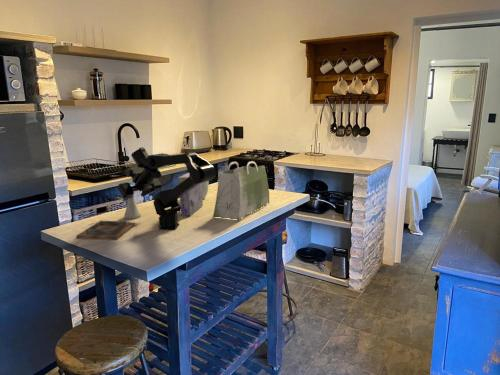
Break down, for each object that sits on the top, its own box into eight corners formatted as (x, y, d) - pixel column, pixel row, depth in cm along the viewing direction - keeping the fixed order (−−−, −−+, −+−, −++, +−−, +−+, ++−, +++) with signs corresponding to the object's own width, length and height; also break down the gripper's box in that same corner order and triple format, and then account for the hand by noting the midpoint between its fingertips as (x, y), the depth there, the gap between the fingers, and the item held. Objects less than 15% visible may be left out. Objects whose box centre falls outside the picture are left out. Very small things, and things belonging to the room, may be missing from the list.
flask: (135, 219, 160) (133, 197, 158) (120, 219, 162) (118, 196, 159) (143, 214, 167) (142, 193, 165) (129, 214, 169) (127, 192, 166)
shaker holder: (135, 225, 153) (134, 219, 152) (117, 239, 138) (116, 233, 137) (98, 224, 155) (97, 218, 154) (76, 238, 139) (75, 231, 139)
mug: (188, 194, 203) (186, 170, 200) (208, 193, 205) (207, 169, 202) (188, 201, 189) (186, 176, 186) (209, 200, 190) (208, 175, 187)
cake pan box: (194, 204, 183) (192, 169, 179) (204, 205, 182) (202, 169, 178) (179, 216, 165) (177, 177, 160) (190, 216, 164) (188, 177, 159)
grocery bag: (245, 200, 190) (245, 155, 185) (270, 203, 184) (270, 156, 179) (211, 217, 163) (209, 165, 157) (239, 221, 156) (238, 167, 151)
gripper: (155, 158, 162) (141, 179, 171) (117, 164, 147) (104, 187, 156) (168, 178, 159) (153, 199, 168) (131, 186, 144) (117, 208, 153)
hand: (132, 198), depth 161 cm, fingers open, 9 cm apart
